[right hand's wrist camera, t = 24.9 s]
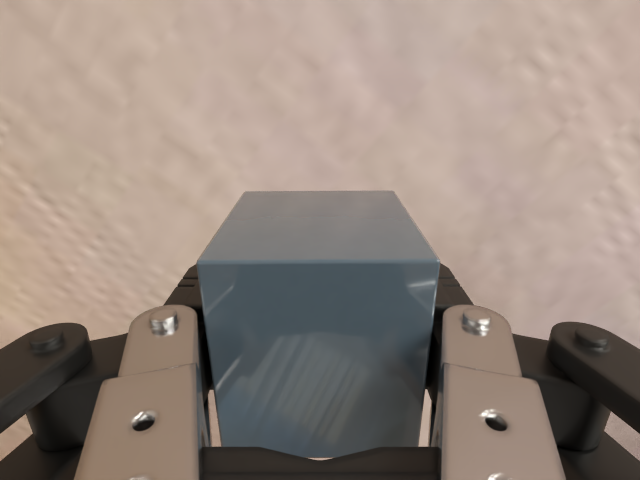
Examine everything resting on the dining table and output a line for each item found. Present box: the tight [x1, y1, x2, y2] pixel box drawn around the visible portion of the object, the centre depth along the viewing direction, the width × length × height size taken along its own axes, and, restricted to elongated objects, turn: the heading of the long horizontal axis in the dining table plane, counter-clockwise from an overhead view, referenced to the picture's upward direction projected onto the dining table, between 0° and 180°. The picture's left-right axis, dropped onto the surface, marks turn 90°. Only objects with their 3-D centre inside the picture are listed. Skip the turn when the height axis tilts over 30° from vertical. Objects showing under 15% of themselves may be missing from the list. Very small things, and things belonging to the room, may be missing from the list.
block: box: [196, 191, 440, 458], centre depth 10 cm, size 5×4×5 cm
